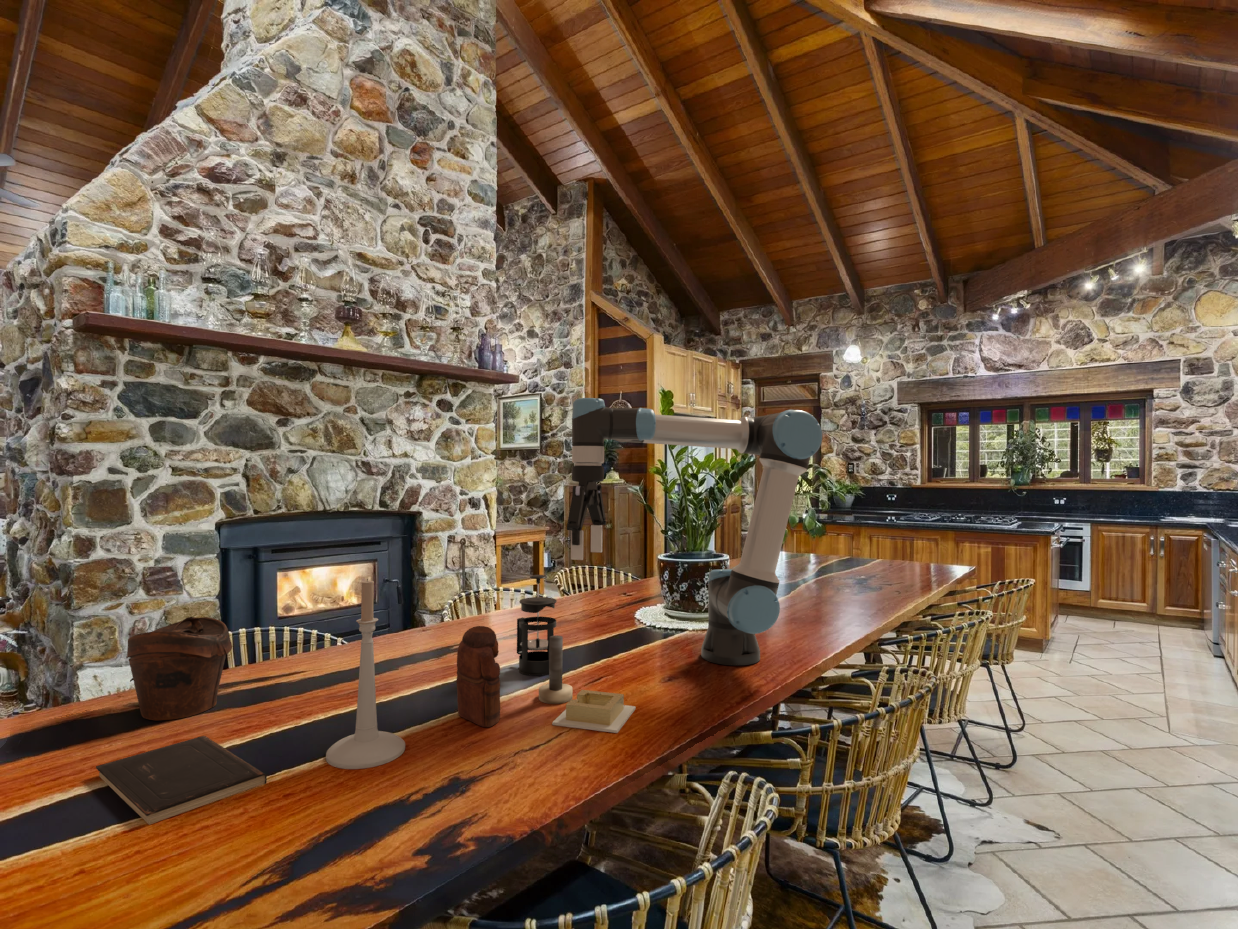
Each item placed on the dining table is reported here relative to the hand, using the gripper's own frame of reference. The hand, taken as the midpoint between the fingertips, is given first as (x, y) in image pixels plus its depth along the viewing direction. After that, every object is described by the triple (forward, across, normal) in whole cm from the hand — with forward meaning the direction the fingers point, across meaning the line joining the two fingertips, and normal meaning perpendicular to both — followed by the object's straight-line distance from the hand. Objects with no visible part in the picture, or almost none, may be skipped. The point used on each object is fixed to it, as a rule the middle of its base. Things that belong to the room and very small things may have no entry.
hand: (587, 555), depth 156 cm
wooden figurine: (+29, +29, -12) cm, 43 cm away
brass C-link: (+28, +22, +10) cm, 37 cm away
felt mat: (+29, +22, +10) cm, 37 cm away
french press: (+29, -3, -14) cm, 32 cm away
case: (+29, +43, -72) cm, 89 cm away
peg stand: (+29, +14, -2) cm, 32 cm away
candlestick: (+29, +49, -23) cm, 61 cm away
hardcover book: (+29, +66, -44) cm, 85 cm away
